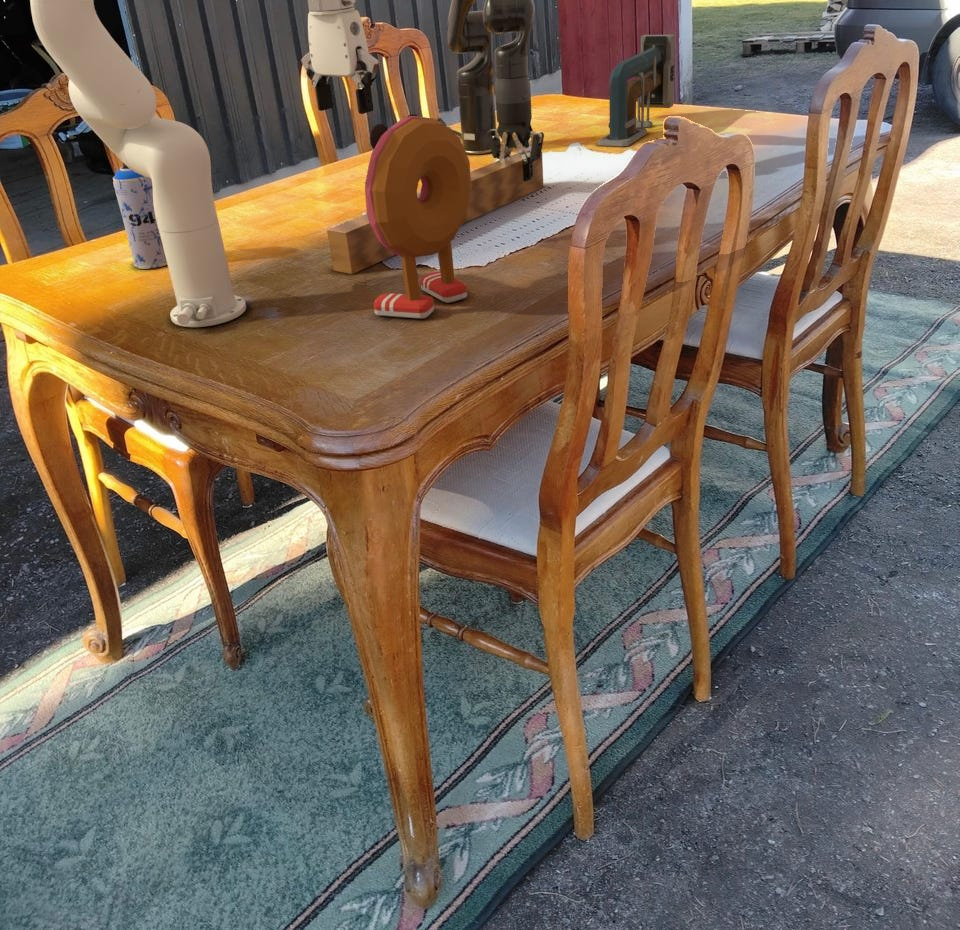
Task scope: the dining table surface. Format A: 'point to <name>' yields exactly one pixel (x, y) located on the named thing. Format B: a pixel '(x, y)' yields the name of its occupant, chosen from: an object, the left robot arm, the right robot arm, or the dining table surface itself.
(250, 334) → the dining table surface
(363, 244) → the post
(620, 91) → the clamp
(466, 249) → the dining table surface
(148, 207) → the aerosol can
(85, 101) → the left robot arm
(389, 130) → the toy
